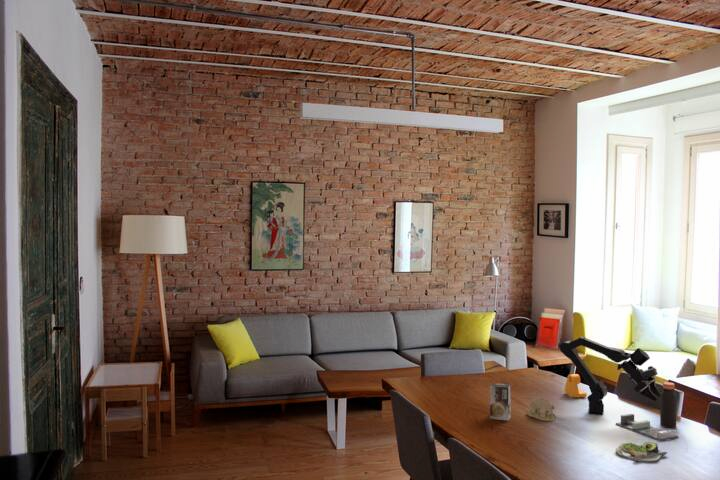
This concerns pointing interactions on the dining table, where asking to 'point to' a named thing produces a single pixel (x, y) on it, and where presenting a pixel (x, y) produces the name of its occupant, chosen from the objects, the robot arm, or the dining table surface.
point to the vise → (652, 432)
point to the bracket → (574, 386)
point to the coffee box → (500, 401)
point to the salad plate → (641, 451)
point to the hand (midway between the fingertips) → (658, 398)
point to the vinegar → (668, 406)
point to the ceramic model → (541, 409)
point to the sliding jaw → (636, 425)
